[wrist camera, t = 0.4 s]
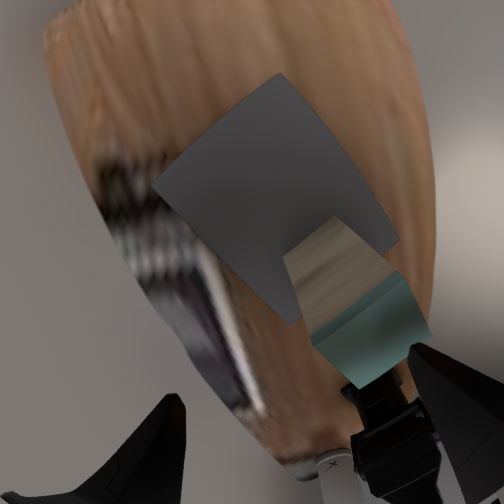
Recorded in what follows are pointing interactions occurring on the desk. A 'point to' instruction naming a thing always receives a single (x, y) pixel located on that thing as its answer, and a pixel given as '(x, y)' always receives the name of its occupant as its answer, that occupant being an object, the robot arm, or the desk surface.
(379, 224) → the mat
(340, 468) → the travel mug
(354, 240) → the ash block
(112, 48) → the desk surface
